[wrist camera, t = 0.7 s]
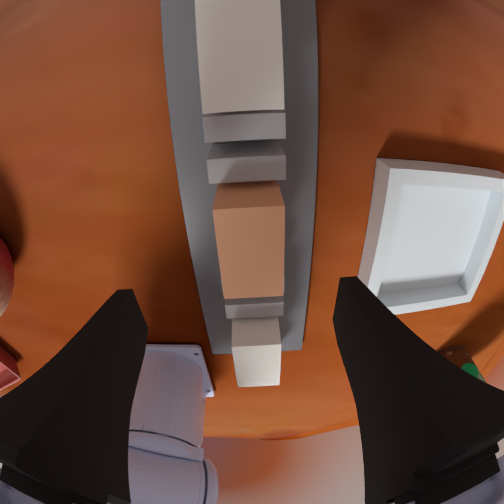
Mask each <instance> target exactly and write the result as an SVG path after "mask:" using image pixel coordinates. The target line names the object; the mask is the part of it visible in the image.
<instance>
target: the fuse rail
mask: <svg viewBox="0 0 504 504" xmlns="http://www.w3.org/2000/svg"><path fill="white" fill-rule="evenodd" d="M280 7H281V26H282V48H283V75H284V110H252V111H234V112H220V113H209V114H202V103H201V91H200V79H199V65H198V51H197V35H196V18H195V0H161V21H162V38H163V52H164V65H165V76H166V87H167V97H168V106H169V115H170V124H171V132H172V140H173V147H174V155H175V162H176V169H177V176H178V182H179V189H180V195H181V201H182V207H183V213H184V219H185V225H186V230H187V236H188V241H189V247H190V252H191V257H192V263H193V268H194V273H195V278H196V282H197V287H198V292H199V297H200V301H201V306H202V311H203V315H204V319H205V324H206V328H207V333H208V337H209V341H210V345H211V349H212V353H213V354H233V353H232V347H231V345H232V318H253V317H271V316H278V321H279V329H280V337H281V351H290V350H301V349H302V342H303V334H304V325H305V317H306V308H307V298H308V289H309V278H310V268H311V256H312V243H313V230H314V215H315V198H316V177H317V150H318V46H317V21H316V4H315V0H280ZM268 180H277V181H278V184H279V187H280V191H281V194H282V197H283V201H284V204H285V246H284V288H283V296H273V297H256V298H236V299H224V294H223V287H222V280H221V273H220V265H219V258H218V250H217V243H216V235H215V227H214V219H213V205H214V200H215V195H216V190H217V185H218V183H230V182H247V181H268ZM235 373H236V372H235ZM280 373H281V364H280Z"/></svg>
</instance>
